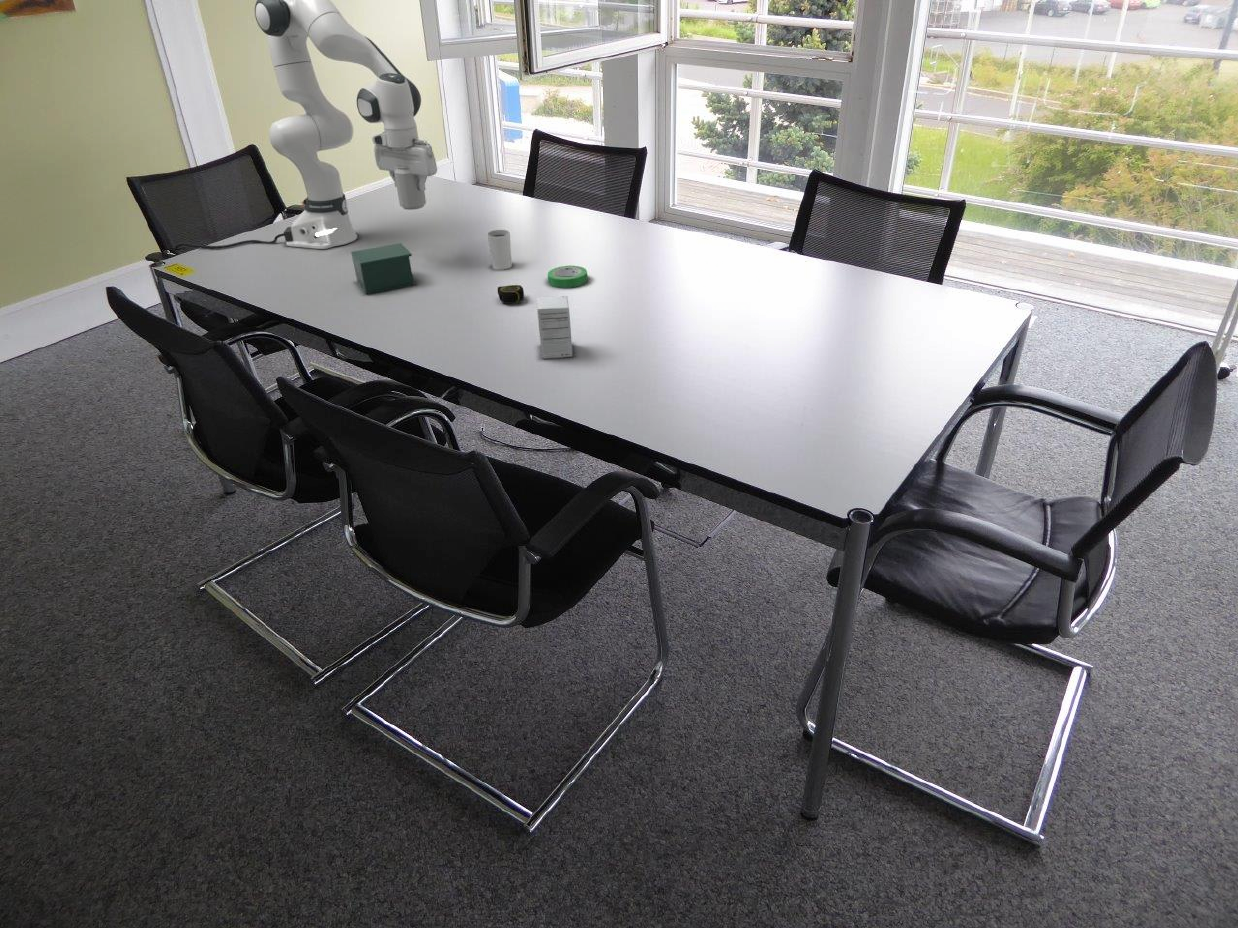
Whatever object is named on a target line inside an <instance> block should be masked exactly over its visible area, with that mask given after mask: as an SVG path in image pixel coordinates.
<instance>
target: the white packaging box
mask: <svg viewBox="0 0 1238 928" xmlns="http://www.w3.org/2000/svg"><path fill="white" fill-rule="evenodd" d="M536 309H537V310H536V312H537V322H538V332H539V340H540V350H541V358H542V359H543V360H544V359H559V358H560V359H561V358H571V357H573V341H572V329H571V315H570V307H569V298H568V295H554V296H541V297H540V296H539V297H536Z"/></svg>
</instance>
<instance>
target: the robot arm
mask: <svg viewBox="0 0 1238 928" xmlns="http://www.w3.org/2000/svg"><path fill="white" fill-rule="evenodd" d="M254 17H255V20H256V23H257V25H258V27H259V28H260V30H261V31H262V32H263V33H264V34H266V35H267V41H268V49H269V53H270V59H271V62H272V67H273V69H274V74H275V76H276V81H277V83H278V87H279V91H280V93H281V94H282V96H283V97H284V98H285V99H287V100H288V101H290V102H293V103H297V104H299V105H300V106H301V107H302V108H303V109H304V111H305V114H300V115H293V116H287V117H284V118H281V119H279V120H277V121H274V122H272V123H271V125H270V127H269V131H268V138H269V142H270V144H271V146H272V148H273V149H274V150H275V152H277V153H278V154H280V155H281V156H282V157H284V158H286V159H288V160H289V161H291V162H292V164H293V165H294V166H295V167H296V169H297V170H298V172H299V174H300V175H301V178H302V182H303V185H304V188H305V192H306V195H307V196H306V198H304V199H303V200H302V202H300V204H301V207H303V206H304V210H303V211H302V212H301V213H300V214H299V215H298V216H297V217H296V218H295V219H294V220H293V221H292V223H291V226H287V227H286V228H285V230H284V231H283V232H282V233H279V234H277V235H276V236H274V238H273V240H271V241H264V240H259V239H247V240H242V241H237V242H234V243H229V244H224V245H207V244H194V243H188V242H180V243H177V244H176V245H175V246H174V247H173V249H174V250H176V249H178V248H179V247H182V246H185V247H191V248H200V249H201V248H203V249H226V248H233V247H236V246H240V245H243V244H244V245H245V244H250V243H255V244H256V243H257V244H271V245H272V244H275V243H276V242H277V241H278V239H279V238H282V237H284V239H285V244H286V246H287V247H294V248H305V249H316V250H326V249H330V248H333V247H339V246H342V245H347V244H349V243H352V242H355V241H356V240H357V239H358V234H357V233H356V231H355V229H354V227H353V223H352V221H351V219H350V215H349V207H348V202H347V199H346V198H347V197H346V194H345V193H344V191H343V185H342V180H341V176H340V172H339V170H338V169H337V167H335V166H334V165H333V164H331V163H328V162H325V161H321V160H320V158H319V156H318V152H323V151H328V150H333V149H337V148H340V147H343V146H345V145H347V144H349V143H350V142H351V141H352V139H353V137H354V126H353V125H354V124H353V123H352V121H351V119H350V117H349V116H348V115H347V114H346V113H345V112H344V111H342V110H340V109H339V108H337V107H335V106H334V105H333V104H332V103H331V102H330V101H329V100H328V99H327V97H326V95H325V94H324V93H323V91H322V89H321V87H320V85H319V80H318V78H317V76H316V72H315V69H314V66H313V62H312V59H311V55H310V53H309V49H308V45H307V42H308V41H307V40H308V38H309V39H310V41H311V43H312V44H313V45H314V47H315V48H316V50H318V51H319V52H320V53H321V54H322V55H323V56H324V57H325V58H327V59H329V60H332V61H338V62H346V63H347V62H348V63H353V64H357V65H361V66H363V67H366V68H367V69H368V70H370V71H371V72H372V73H373V74H374V75H375V76H376V78H377V79H376V81H374V82H373V83H372V84H369V85H367V86H365V87H362V88H360V89H359V91H358V92H357V95H356V109H357V110H358V114H359V115H360V116H361V118H362V119H363V120H364V121H366V122H367V123H369V124H379V123H383V130H384V131H383V132H382V133H379V134H376V135H373V136H372V139H371V140H372V143H373V145H374V147H373V152H374V153H373V154H374V159H375V164H376V166H377V168H378V169H379V170H380V171H386V172H389V176H390V177H391V179H392V181H393V183H394V187H395V188H397V186H396V180H395V174H394V171H395V169H396V166H397V167H409V168H408V170H409V171H410V172H411V173H412V174H414V175H418V179H420V181H419V184H417V187H418V188H417V189H418V190H419V191H424V192H425V191H426V183H427V179H428V177H431V176H434V175H436V174H437V173H438V165H437V161H436V156H435V154H434V150H433V146H432V145H431V144H430V143H429V142H428V140H420V139H419V133H418V132H419V131H418V127H417V122H416V120H415V116H417V114H418V112H419V111H420V109H421V103H422V95H421V93H420V90H419V89H418V87H417V86H416V85H415V84H414V83H413V82H412V80H410V79H409V78H407V77H406V76H405V75H404V74H403V73H402V72H401V71H400V70H399V69H398V68H397V66H396V65H394V63H393V62H392V61H391V60H390V59H389V58H388V57H387V56H386V54H385V53H384V52H383V51H382V50H381V48H379V46H378V45H377V44H375V42H374V41H373V40H372V39H370V38H369V37H367V36H366V35H364V34H362V33H360V32H359V31H358V30H357V29H355V28H354V27H353V26H352V25H351V24H350V23H349V22H348V21H347V20H346V18H345V17H344V16H343V14H342V13H341V12H340V10H339V9H338V8H337V7H336V5H335V4H334V3H333V2H332V0H256V1H255V5H254Z"/></svg>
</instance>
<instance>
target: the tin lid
mask: <svg viewBox="0 0 1238 928" xmlns="http://www.w3.org/2000/svg"><path fill="white" fill-rule="evenodd" d="M350 253H351V256H352V255H353V257H354V258H355V259H356V260H357V262H358V263H359V264H360V266H362V265H367V264H372V263H378V262H383V261H389V260H394V259H399V258H405V257H409V258H410V257H412V255H413V253H411V251H410V250H409V249H407V247H406V246H405V245H403V243H402V242H398V243H393V244H387V245H382V246H377V247H371V248H365V249H360V250H354V251H351V252H350Z"/></svg>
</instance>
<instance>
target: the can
mask: <svg viewBox="0 0 1238 928" xmlns="http://www.w3.org/2000/svg"><path fill="white" fill-rule="evenodd" d="M408 168H409V167H397V166H396V169H395V171H394V174H395V180H396V186H397V187H396V191H397V197H398V203H399V206H400V207H401V208H402V209H403V210H410V211H415V210H420V209H422V208H424V206H425V205H426V203H427V199H426V192H425V190H424V191H419V190H418V189H417V188H418V187H417V184H419V181H420V179H418V175H414V174H412V173H411V172H410V171H409V170H408Z"/></svg>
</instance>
